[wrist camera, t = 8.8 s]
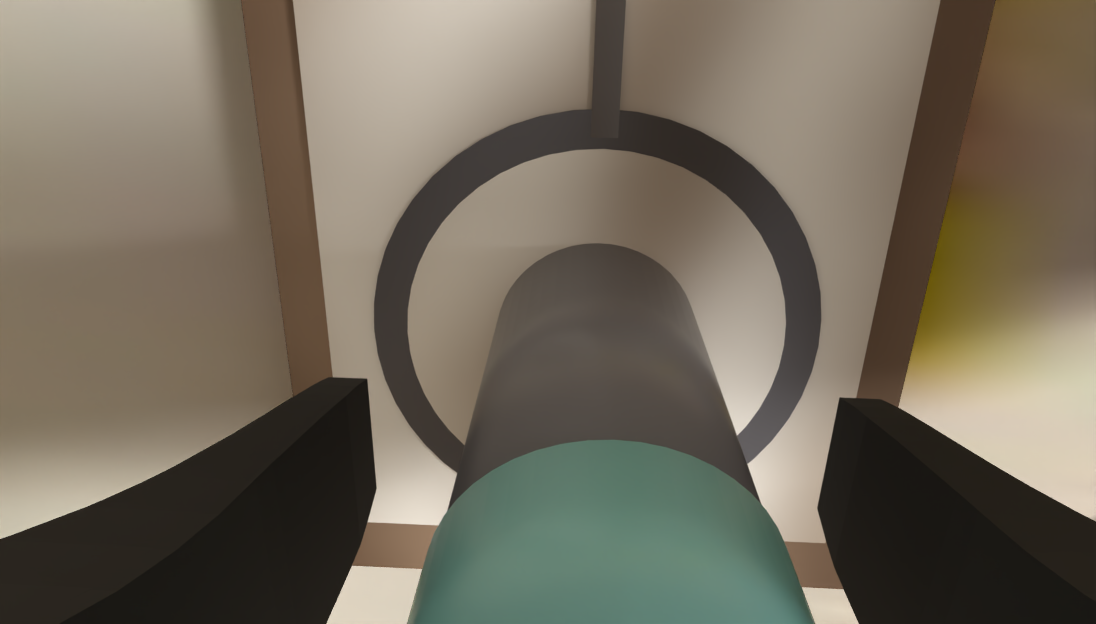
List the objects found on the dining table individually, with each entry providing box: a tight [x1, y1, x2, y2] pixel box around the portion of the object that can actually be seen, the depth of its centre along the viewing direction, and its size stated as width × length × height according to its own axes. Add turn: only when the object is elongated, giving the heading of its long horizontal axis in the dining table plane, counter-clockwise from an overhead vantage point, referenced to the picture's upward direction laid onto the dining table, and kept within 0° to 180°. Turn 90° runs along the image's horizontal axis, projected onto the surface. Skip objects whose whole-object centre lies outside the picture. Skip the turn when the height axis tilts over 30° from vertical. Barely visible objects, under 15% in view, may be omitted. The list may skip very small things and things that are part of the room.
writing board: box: [241, 0, 995, 589], centre depth 14 cm, size 13×20×2 cm, turn 179°
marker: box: [407, 243, 815, 624], centre depth 10 cm, size 4×4×10 cm
